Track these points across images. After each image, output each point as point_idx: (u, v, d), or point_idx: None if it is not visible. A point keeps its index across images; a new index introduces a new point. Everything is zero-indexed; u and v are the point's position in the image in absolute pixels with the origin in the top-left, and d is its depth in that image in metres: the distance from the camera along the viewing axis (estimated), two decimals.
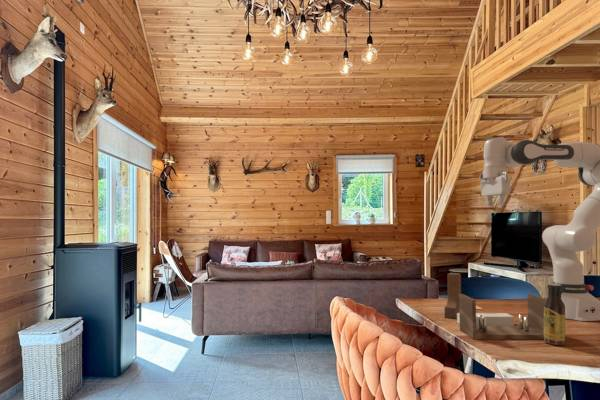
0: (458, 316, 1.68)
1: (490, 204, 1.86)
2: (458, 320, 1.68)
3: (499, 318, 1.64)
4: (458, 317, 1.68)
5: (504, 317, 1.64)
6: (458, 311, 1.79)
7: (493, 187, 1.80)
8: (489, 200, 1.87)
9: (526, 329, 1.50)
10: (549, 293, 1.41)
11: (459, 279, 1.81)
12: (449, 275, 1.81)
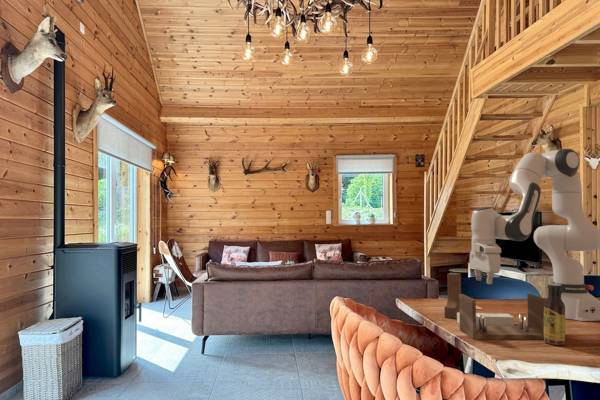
0: (458, 315, 1.69)
1: None
2: (458, 319, 1.69)
3: (498, 319, 1.63)
4: (458, 316, 1.69)
5: (504, 318, 1.63)
6: (458, 311, 1.79)
7: None
8: None
9: (526, 329, 1.50)
10: (549, 293, 1.41)
11: (459, 279, 1.81)
12: (449, 275, 1.81)
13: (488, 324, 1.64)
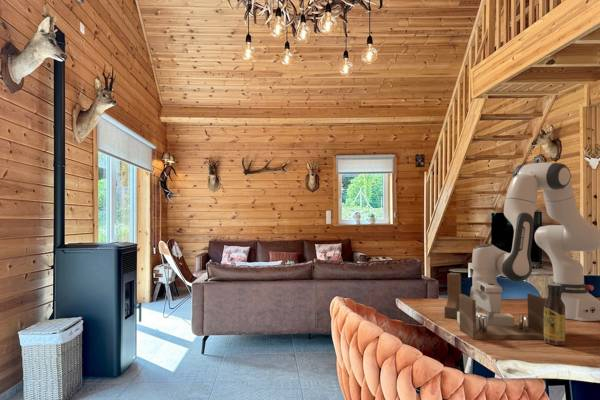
0: (457, 314, 1.70)
1: None
2: (457, 318, 1.70)
3: (498, 319, 1.63)
4: (457, 315, 1.70)
5: (504, 318, 1.63)
6: (458, 311, 1.79)
7: None
8: None
9: (526, 329, 1.50)
10: (549, 293, 1.41)
11: (459, 279, 1.81)
12: (449, 275, 1.81)
13: (487, 324, 1.64)
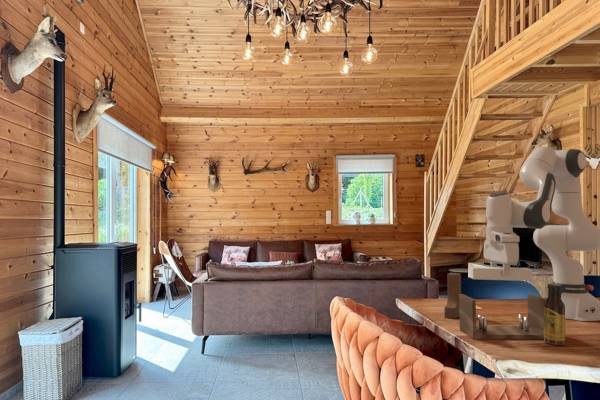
0: (470, 269, 1.57)
1: None
2: (470, 273, 1.57)
3: (514, 271, 1.50)
4: (470, 270, 1.57)
5: (521, 270, 1.50)
6: (458, 311, 1.79)
7: None
8: None
9: (526, 329, 1.50)
10: (549, 293, 1.41)
11: (459, 279, 1.81)
12: (449, 275, 1.81)
13: (503, 277, 1.51)
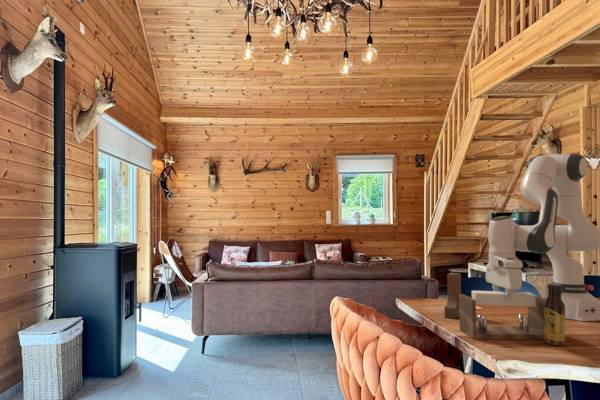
0: (472, 293, 1.55)
1: None
2: (472, 298, 1.55)
3: (517, 297, 1.49)
4: (472, 295, 1.55)
5: (524, 296, 1.48)
6: (458, 311, 1.79)
7: None
8: None
9: (526, 329, 1.50)
10: (549, 293, 1.41)
11: (459, 279, 1.81)
12: (449, 275, 1.81)
13: (506, 302, 1.49)
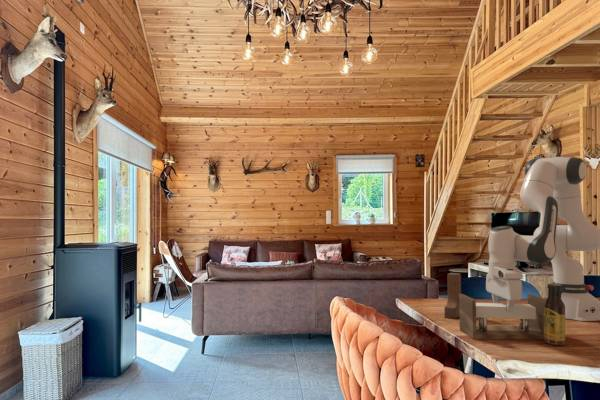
0: None
1: None
2: None
3: (518, 309, 1.49)
4: None
5: (524, 308, 1.48)
6: (458, 311, 1.79)
7: None
8: None
9: (526, 329, 1.50)
10: (549, 293, 1.41)
11: (459, 279, 1.81)
12: (449, 275, 1.81)
13: (506, 315, 1.49)
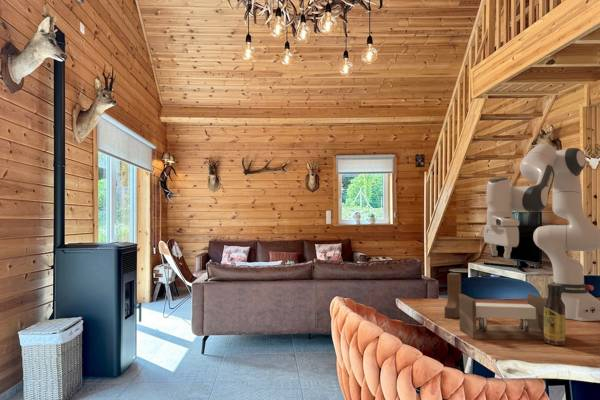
0: None
1: None
2: None
3: (518, 309, 1.49)
4: None
5: (524, 308, 1.48)
6: (458, 311, 1.79)
7: None
8: None
9: (526, 329, 1.50)
10: (549, 293, 1.41)
11: (459, 279, 1.81)
12: (449, 275, 1.81)
13: (506, 315, 1.49)
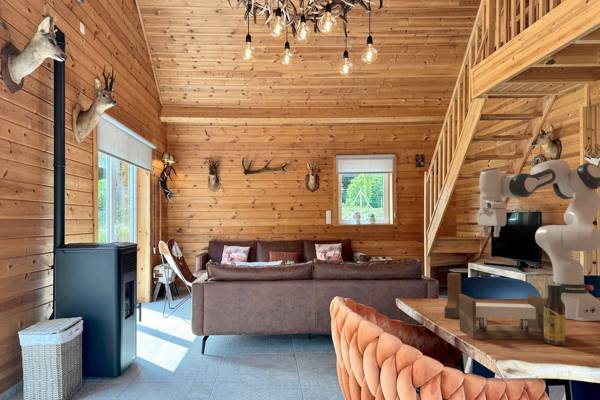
0: None
1: None
2: None
3: (518, 309, 1.49)
4: None
5: (524, 308, 1.48)
6: (458, 311, 1.79)
7: None
8: None
9: (526, 329, 1.50)
10: (549, 293, 1.41)
11: (459, 279, 1.81)
12: (449, 275, 1.81)
13: (506, 315, 1.49)
